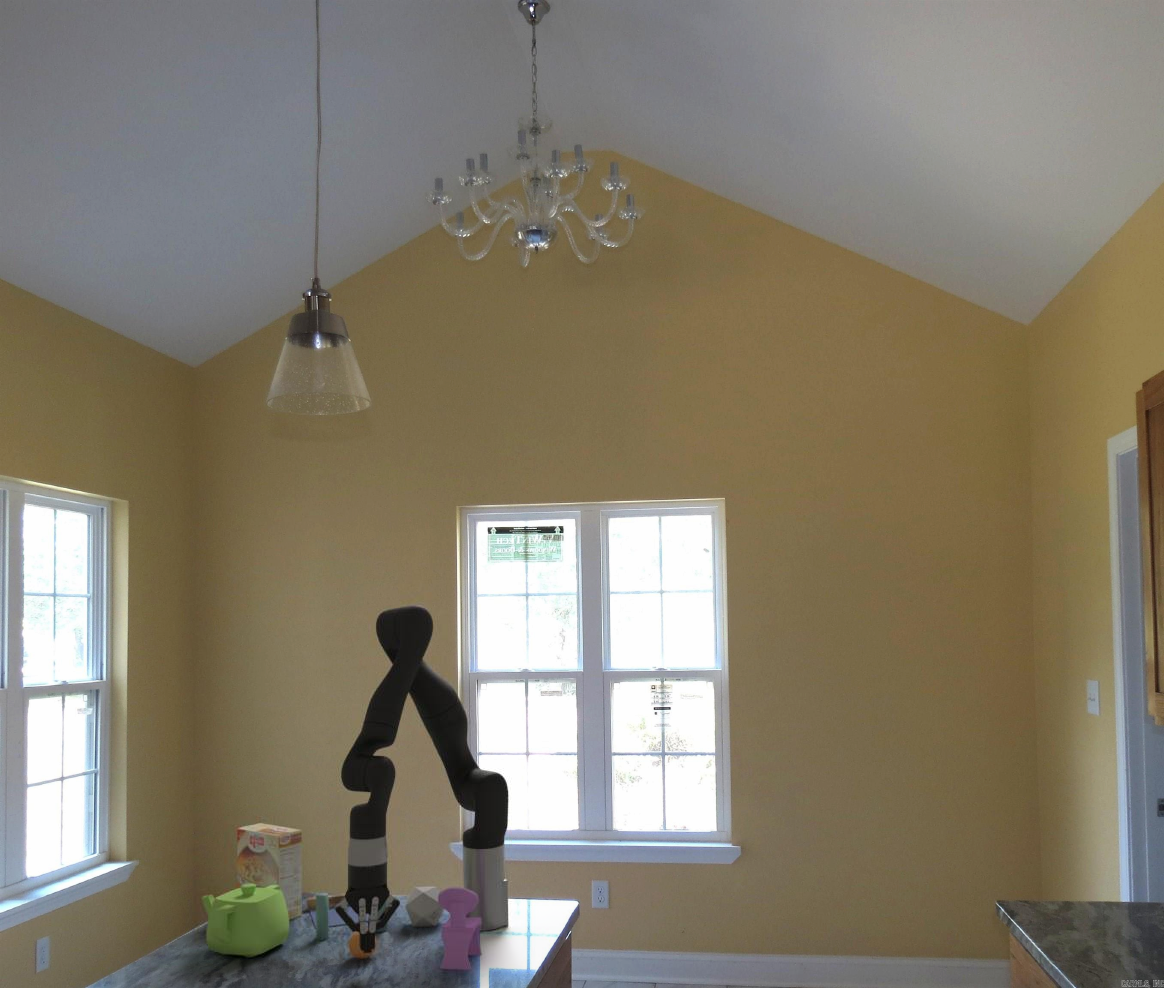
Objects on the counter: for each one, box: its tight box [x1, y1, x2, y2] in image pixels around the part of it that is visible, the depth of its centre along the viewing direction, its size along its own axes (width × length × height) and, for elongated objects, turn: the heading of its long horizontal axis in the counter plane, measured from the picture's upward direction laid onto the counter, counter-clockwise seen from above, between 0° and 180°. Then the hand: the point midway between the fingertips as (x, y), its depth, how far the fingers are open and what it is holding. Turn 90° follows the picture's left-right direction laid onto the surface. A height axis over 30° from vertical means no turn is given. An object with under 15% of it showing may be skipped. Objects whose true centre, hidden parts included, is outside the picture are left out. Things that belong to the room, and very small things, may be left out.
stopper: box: [306, 892, 349, 912], centre depth 244 cm, size 15×2×2 cm, turn 110°
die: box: [404, 886, 445, 928], centre depth 229 cm, size 8×9×10 cm
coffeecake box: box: [236, 822, 303, 921], centre depth 239 cm, size 15×7×20 cm, turn 55°
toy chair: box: [438, 886, 483, 971], centre depth 206 cm, size 8×9×15 cm
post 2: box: [376, 900, 388, 933], centre depth 226 cm, size 3×3×9 cm
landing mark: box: [309, 905, 368, 929], centre depth 236 cm, size 14×14×1 cm
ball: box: [348, 931, 378, 960], centre depth 208 cm, size 6×6×6 cm
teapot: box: [201, 883, 290, 958], centre depth 217 cm, size 18×20×13 cm
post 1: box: [315, 892, 330, 941], centre depth 221 cm, size 3×3×9 cm
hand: (366, 951), depth 200 cm, fingers closed
